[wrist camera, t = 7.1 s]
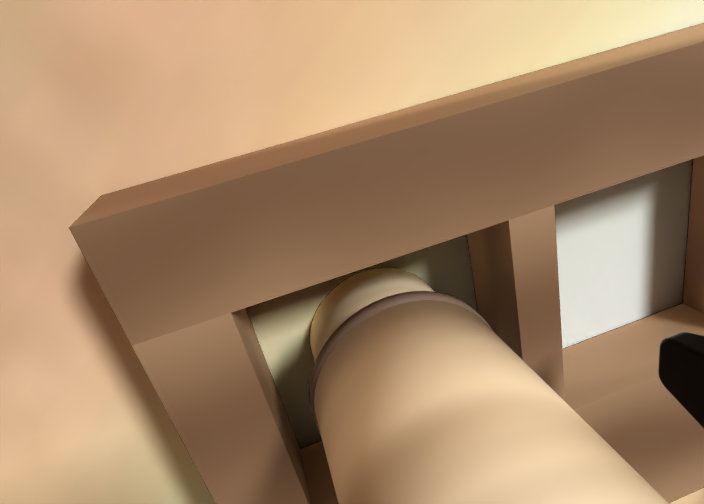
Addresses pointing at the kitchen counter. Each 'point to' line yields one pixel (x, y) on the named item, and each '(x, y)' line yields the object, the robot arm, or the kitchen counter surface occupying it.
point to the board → (406, 237)
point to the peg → (445, 407)
